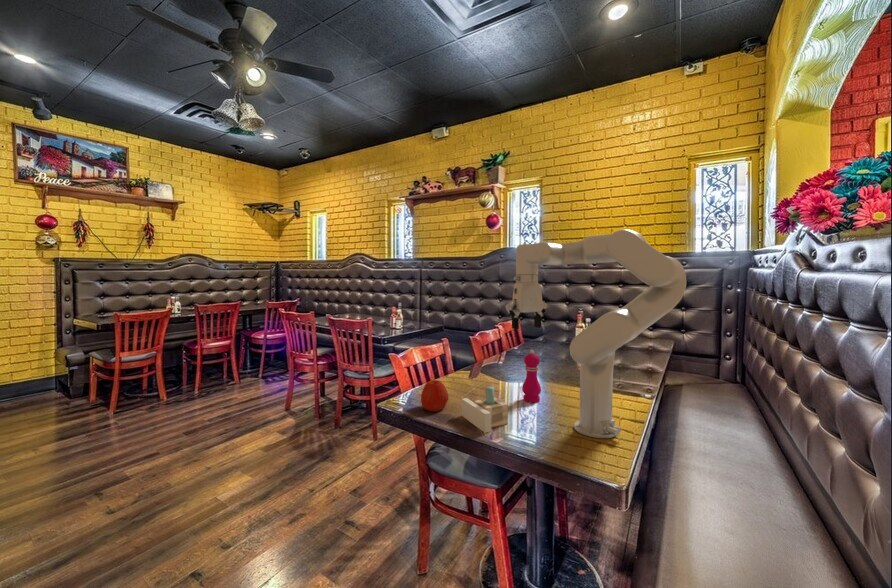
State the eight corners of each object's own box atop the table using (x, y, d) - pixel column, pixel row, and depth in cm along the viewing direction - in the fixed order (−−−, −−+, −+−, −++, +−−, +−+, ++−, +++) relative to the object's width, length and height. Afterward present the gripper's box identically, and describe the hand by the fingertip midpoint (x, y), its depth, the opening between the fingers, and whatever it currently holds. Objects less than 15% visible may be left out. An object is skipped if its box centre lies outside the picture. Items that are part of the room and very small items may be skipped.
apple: (454, 408, 137) (453, 380, 137) (433, 415, 130) (433, 386, 130) (435, 401, 145) (435, 375, 144) (414, 408, 138) (414, 380, 137)
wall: (490, 431, 116) (490, 412, 116) (485, 432, 115) (485, 413, 115) (466, 414, 131) (466, 398, 131) (461, 415, 130) (461, 398, 130)
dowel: (496, 418, 124) (495, 388, 123) (488, 419, 122) (488, 389, 122) (491, 415, 126) (491, 386, 126) (484, 416, 125) (484, 387, 124)
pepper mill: (539, 397, 149) (539, 348, 149) (542, 403, 142) (542, 351, 141) (521, 397, 150) (521, 348, 149) (523, 403, 143) (523, 351, 142)
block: (507, 424, 122) (507, 404, 122) (486, 428, 119) (486, 408, 119) (494, 415, 130) (494, 397, 129) (474, 419, 126) (474, 400, 126)
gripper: (512, 279, 124) (512, 331, 125) (553, 279, 131) (553, 328, 132) (500, 279, 131) (500, 328, 131) (539, 279, 138) (539, 325, 139)
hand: (526, 328), depth 132 cm, fingers open, 9 cm apart
